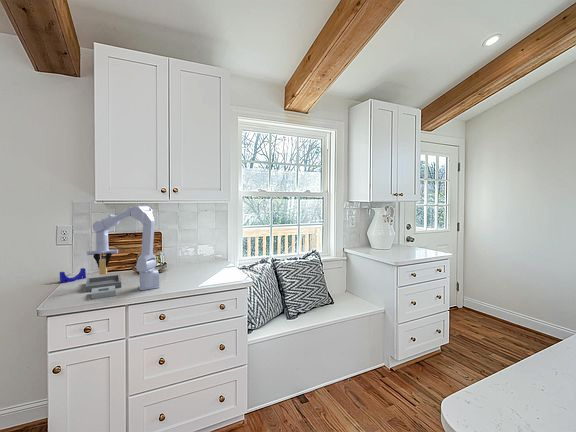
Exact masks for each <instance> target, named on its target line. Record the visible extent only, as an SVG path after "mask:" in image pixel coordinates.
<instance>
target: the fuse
mask: <svg viewBox="0 0 576 432" xmlns="http://www.w3.org/2000/svg"><path fill="white" fill-rule="evenodd" d="M98 269H99V270H98V271H99V275H107V274H108V267H106V258H100V260H99V268H98Z"/></svg>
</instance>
